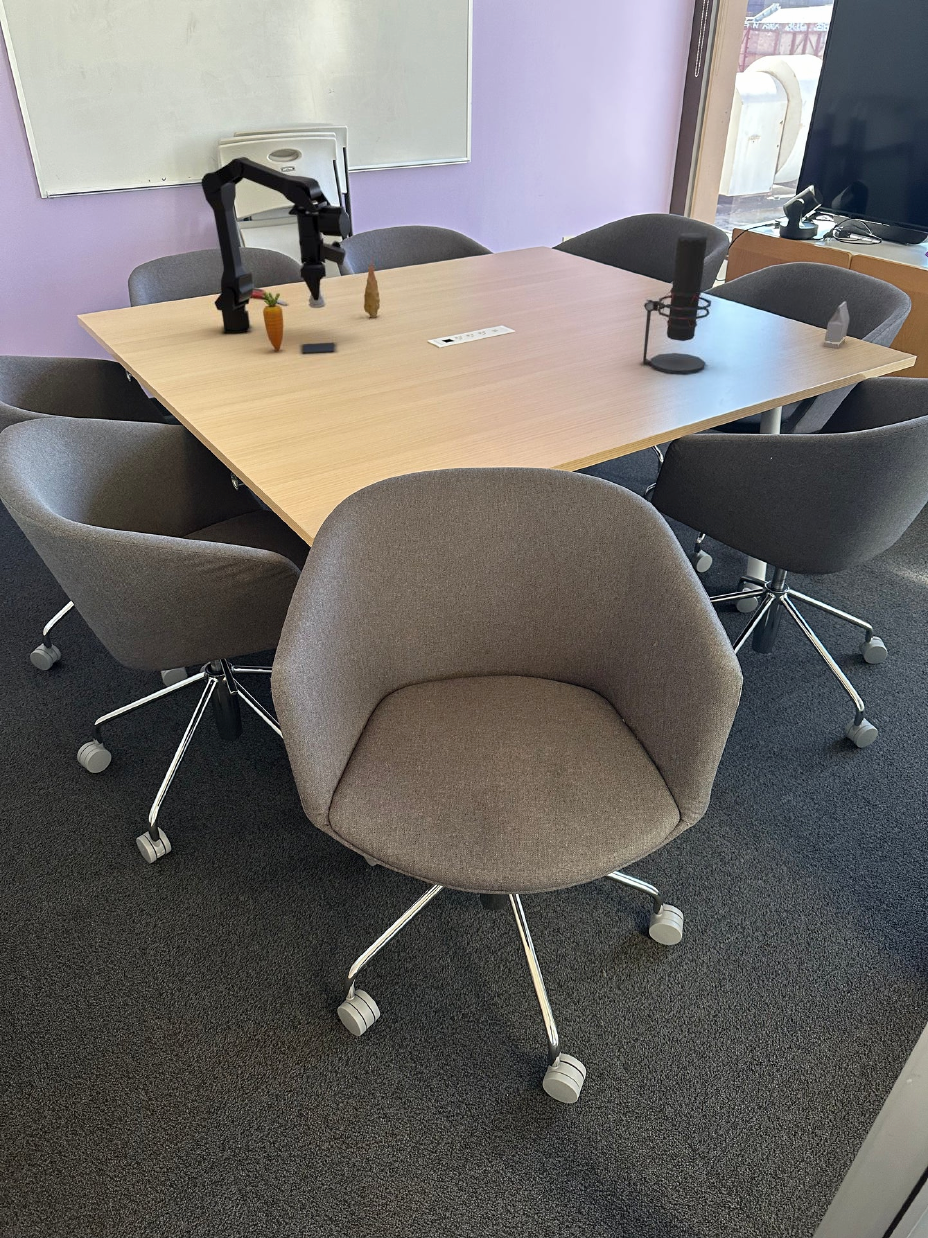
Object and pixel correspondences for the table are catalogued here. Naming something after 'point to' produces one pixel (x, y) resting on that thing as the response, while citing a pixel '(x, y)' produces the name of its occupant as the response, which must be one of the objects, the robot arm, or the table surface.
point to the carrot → (273, 320)
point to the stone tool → (371, 294)
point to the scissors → (259, 294)
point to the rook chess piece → (317, 301)
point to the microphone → (681, 305)
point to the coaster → (318, 348)
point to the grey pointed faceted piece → (837, 327)
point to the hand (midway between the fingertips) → (316, 298)
